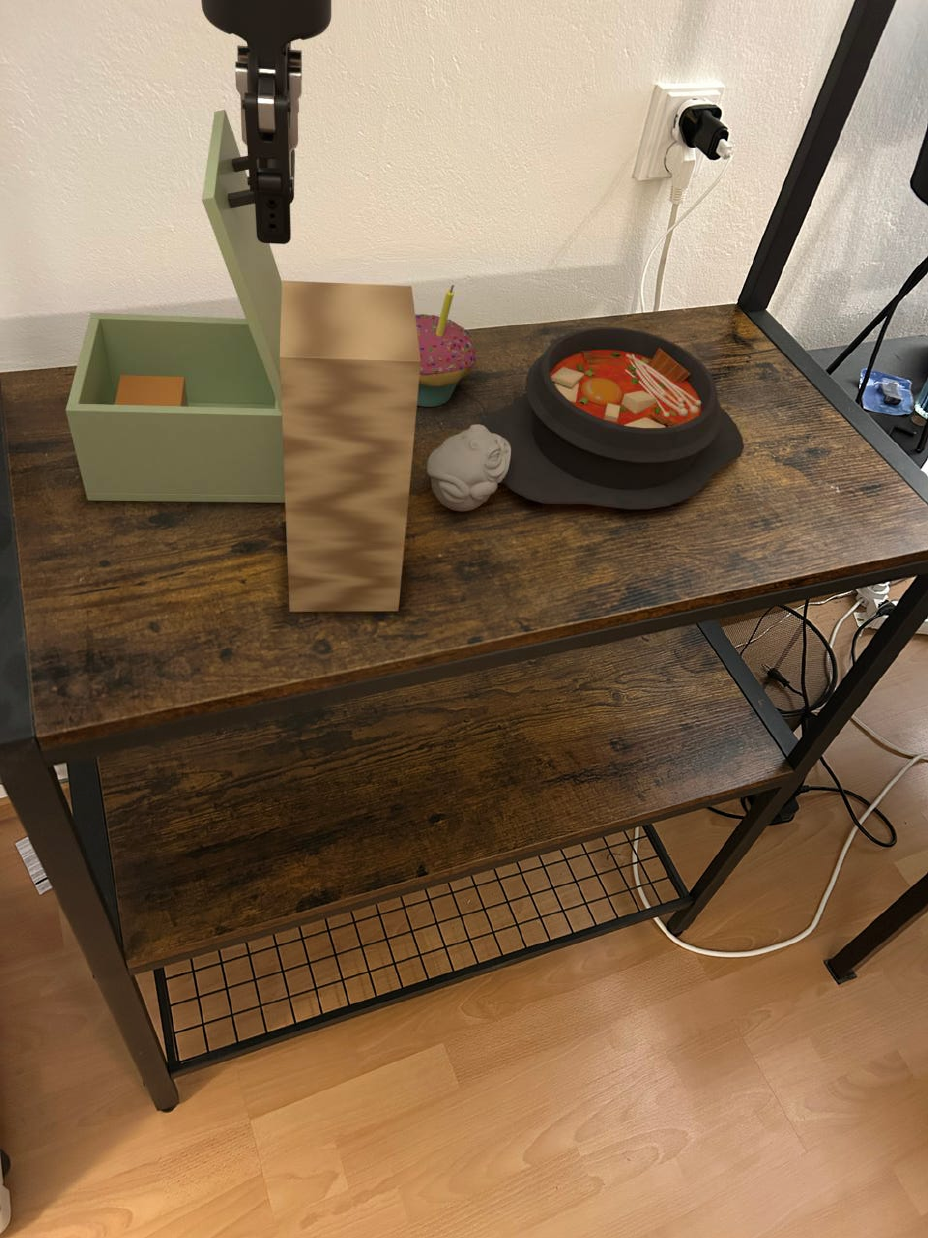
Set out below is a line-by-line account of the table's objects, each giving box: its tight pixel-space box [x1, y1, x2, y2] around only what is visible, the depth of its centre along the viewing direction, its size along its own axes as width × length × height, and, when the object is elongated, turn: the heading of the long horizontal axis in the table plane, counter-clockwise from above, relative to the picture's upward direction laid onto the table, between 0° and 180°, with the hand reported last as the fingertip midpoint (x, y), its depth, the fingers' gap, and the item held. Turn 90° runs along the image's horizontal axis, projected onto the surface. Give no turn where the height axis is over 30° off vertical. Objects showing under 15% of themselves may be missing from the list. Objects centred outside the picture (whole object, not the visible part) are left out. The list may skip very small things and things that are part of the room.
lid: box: [201, 109, 296, 411], centre depth 69 cm, size 16×13×5 cm
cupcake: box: [415, 284, 477, 408], centre depth 86 cm, size 9×8×12 cm
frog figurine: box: [426, 423, 511, 512], centre depth 78 cm, size 6×7×7 cm
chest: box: [65, 312, 285, 504], centre depth 78 cm, size 16×13×9 cm
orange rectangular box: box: [115, 375, 188, 407], centre depth 78 cm, size 5×5×5 cm
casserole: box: [479, 326, 745, 510], centre depth 84 cm, size 25×19×8 cm
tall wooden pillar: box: [280, 280, 421, 613], centre depth 66 cm, size 8×8×22 cm
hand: (275, 215), depth 67 cm, fingers closed on lid, 6 cm apart
